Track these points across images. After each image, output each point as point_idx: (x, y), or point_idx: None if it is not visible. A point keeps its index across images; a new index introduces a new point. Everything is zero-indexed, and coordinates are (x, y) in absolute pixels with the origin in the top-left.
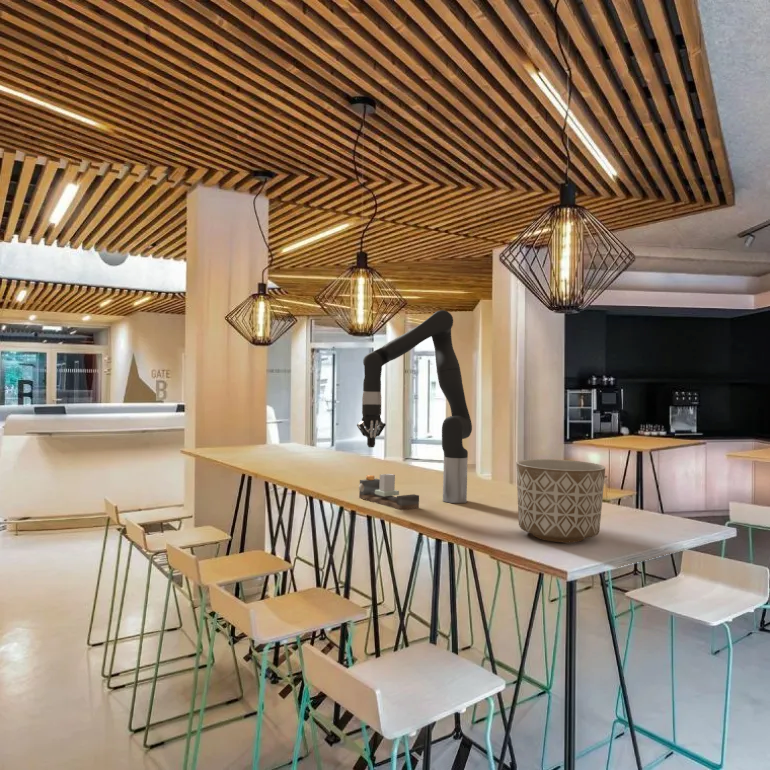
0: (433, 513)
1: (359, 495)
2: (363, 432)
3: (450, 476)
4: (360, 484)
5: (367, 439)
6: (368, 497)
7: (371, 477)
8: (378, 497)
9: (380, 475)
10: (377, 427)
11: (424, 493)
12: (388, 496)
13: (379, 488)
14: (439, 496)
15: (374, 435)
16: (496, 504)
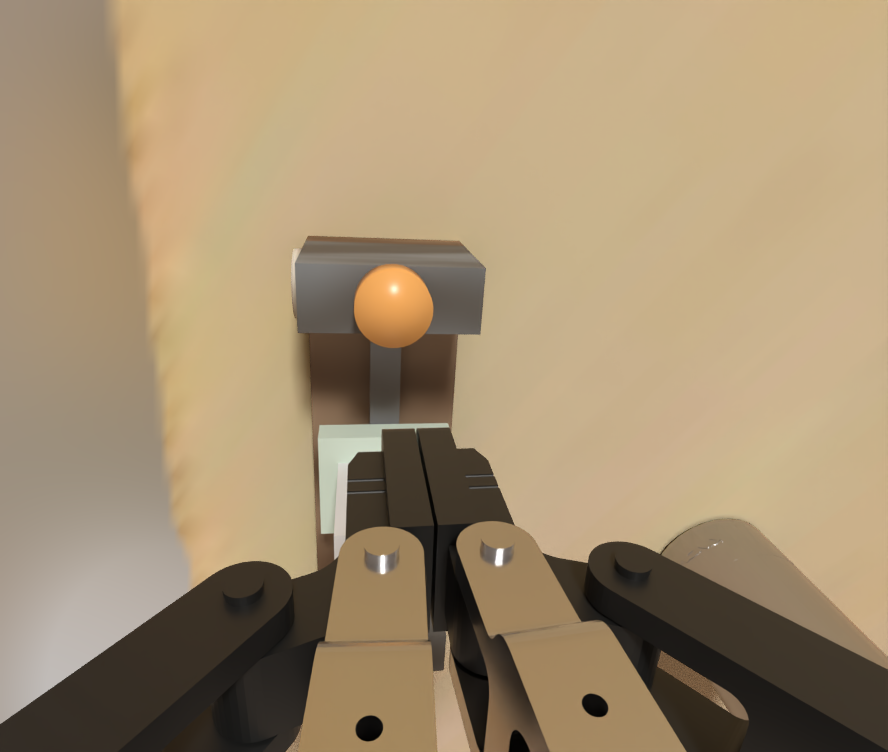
0: None
1: (306, 240)
2: (175, 681)
3: (733, 713)
4: (292, 278)
5: (346, 532)
6: (310, 355)
7: (379, 343)
8: (352, 413)
9: (334, 541)
10: (857, 736)
11: (791, 325)
12: None
13: (338, 471)
14: (769, 440)
15: (482, 681)
16: None
